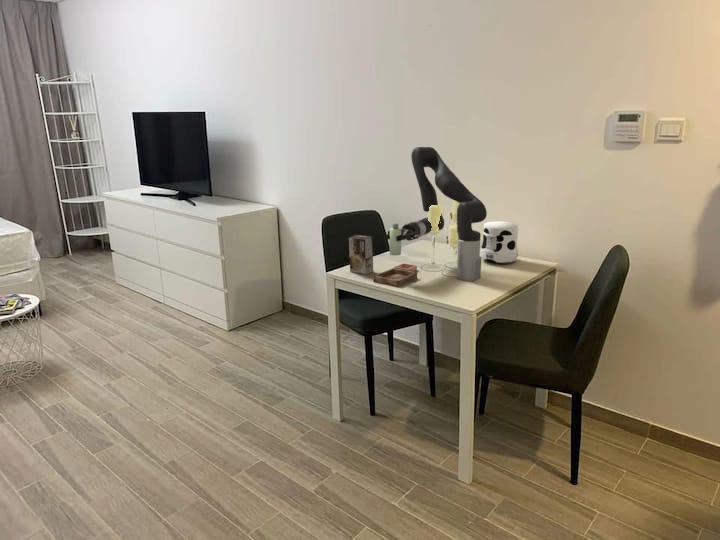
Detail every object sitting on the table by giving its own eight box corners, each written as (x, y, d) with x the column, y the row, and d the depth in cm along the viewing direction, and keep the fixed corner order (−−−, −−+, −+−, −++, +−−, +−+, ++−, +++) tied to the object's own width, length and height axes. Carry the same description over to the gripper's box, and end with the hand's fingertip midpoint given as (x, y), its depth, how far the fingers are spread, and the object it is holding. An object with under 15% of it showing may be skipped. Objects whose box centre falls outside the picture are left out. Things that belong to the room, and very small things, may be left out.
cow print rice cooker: (514, 257, 265) (516, 220, 260) (520, 266, 248) (523, 228, 243) (478, 256, 267) (480, 220, 262) (482, 266, 250) (484, 228, 245)
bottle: (403, 253, 230) (403, 223, 226) (396, 256, 226) (397, 225, 222) (393, 251, 233) (393, 222, 229) (387, 254, 229) (387, 224, 225)
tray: (417, 278, 234) (417, 272, 234) (398, 286, 223) (398, 281, 223) (393, 273, 242) (393, 268, 241) (373, 281, 231) (373, 276, 230)
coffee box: (373, 271, 246) (373, 236, 241) (365, 274, 241) (365, 239, 236) (357, 268, 251) (356, 234, 246) (349, 271, 246) (348, 237, 241)
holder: (416, 270, 246) (416, 265, 245) (408, 274, 240) (408, 269, 240) (403, 267, 250) (403, 263, 250) (394, 271, 245) (394, 266, 244)
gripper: (400, 220, 241) (377, 227, 228) (428, 223, 233) (406, 231, 220) (400, 236, 243) (377, 244, 230) (427, 240, 235) (406, 249, 222)
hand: (391, 238), depth 225 cm, fingers closed on bottle, 4 cm apart
